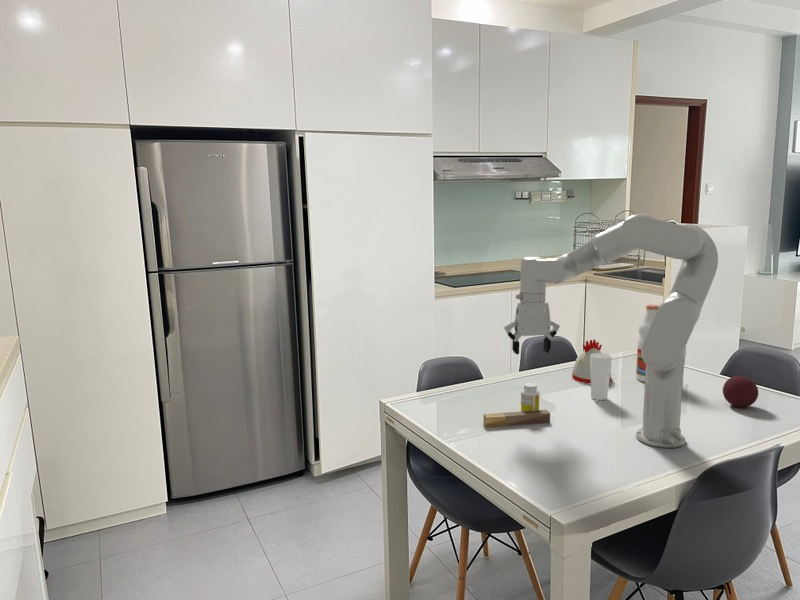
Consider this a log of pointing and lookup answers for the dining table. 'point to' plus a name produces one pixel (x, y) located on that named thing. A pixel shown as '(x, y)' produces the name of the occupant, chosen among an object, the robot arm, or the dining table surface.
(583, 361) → the white and red dome
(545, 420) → the brown wooden bar
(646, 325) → the fruit juice
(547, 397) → the dining table surface
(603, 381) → the drinking glass
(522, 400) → the supplement bottle
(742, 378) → the decorative ball
